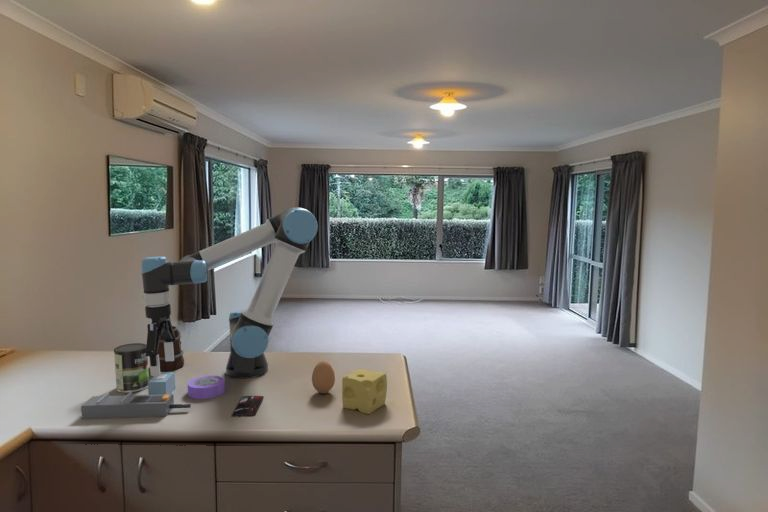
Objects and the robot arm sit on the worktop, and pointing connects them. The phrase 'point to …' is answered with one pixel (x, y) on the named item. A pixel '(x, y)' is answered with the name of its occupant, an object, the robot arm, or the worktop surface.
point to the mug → (178, 353)
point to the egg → (323, 377)
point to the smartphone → (248, 406)
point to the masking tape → (206, 387)
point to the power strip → (129, 406)
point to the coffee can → (131, 367)
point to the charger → (162, 384)
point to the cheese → (364, 390)
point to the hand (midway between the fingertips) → (163, 367)
